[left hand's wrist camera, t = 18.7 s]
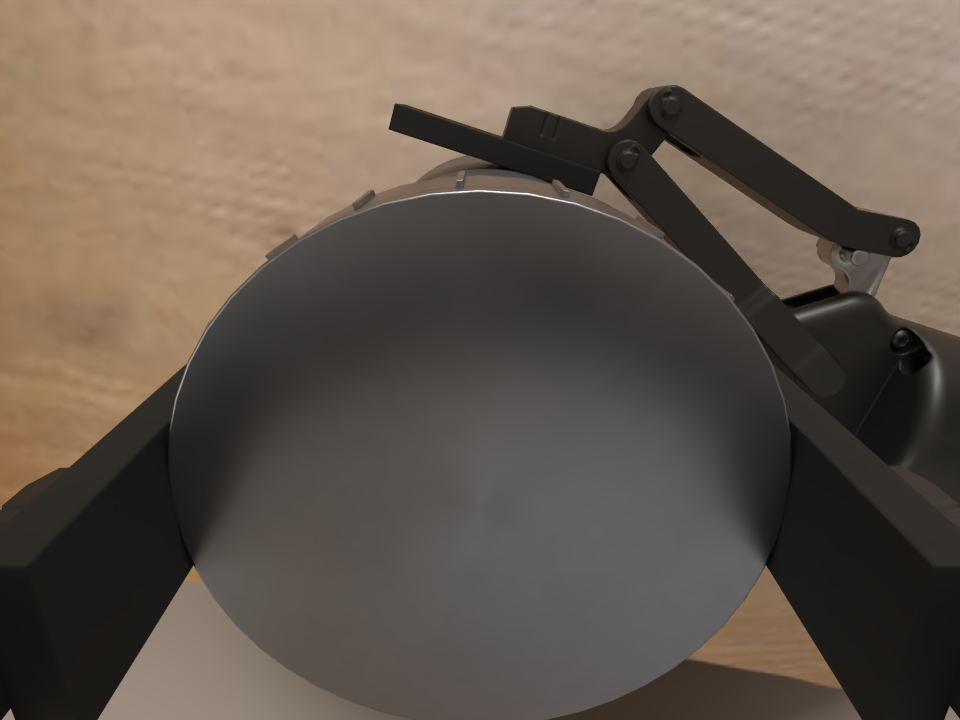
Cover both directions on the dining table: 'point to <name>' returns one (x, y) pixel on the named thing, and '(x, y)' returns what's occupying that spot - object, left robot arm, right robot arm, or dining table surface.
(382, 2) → the dining table surface
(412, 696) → the lid
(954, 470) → the right robot arm
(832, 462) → the left robot arm
